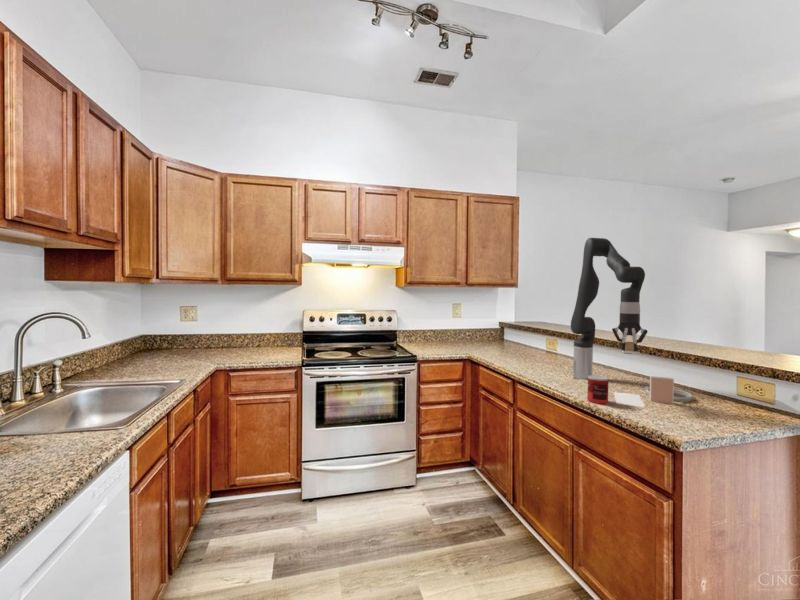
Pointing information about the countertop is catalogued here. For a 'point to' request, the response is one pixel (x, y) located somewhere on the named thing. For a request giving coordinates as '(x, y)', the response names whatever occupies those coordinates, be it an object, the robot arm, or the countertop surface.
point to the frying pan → (674, 394)
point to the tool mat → (628, 399)
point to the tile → (661, 389)
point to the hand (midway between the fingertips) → (628, 351)
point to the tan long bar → (629, 348)
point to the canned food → (598, 389)
